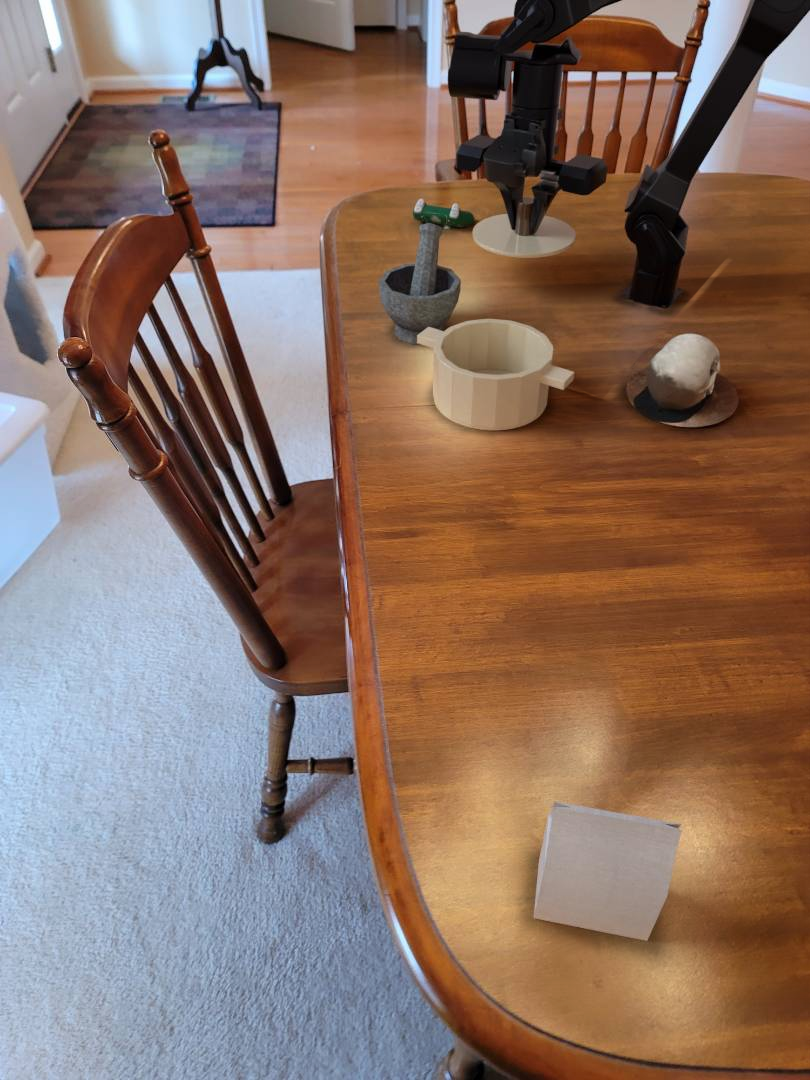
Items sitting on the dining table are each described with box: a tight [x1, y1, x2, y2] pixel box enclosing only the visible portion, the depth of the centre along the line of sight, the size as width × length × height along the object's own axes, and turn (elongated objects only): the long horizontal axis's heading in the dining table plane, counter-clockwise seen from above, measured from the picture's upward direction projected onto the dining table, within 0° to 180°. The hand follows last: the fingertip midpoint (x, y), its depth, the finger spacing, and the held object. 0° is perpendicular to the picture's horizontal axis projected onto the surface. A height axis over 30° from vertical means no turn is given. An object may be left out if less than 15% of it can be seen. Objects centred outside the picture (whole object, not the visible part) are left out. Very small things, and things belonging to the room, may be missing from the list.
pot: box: [417, 318, 575, 431], centre depth 91 cm, size 13×18×6 cm
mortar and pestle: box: [378, 223, 462, 345], centre depth 101 cm, size 11×9×12 cm
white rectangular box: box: [533, 800, 683, 942], centre depth 48 cm, size 4×7×10 cm, turn 78°
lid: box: [471, 196, 577, 259], centre depth 109 cm, size 14×14×5 cm
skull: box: [625, 333, 740, 428], centre depth 92 cm, size 12×10×10 cm
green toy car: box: [412, 198, 475, 230], centre depth 128 cm, size 9×4×6 cm
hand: (523, 231), depth 110 cm, fingers closed on lid, 2 cm apart
